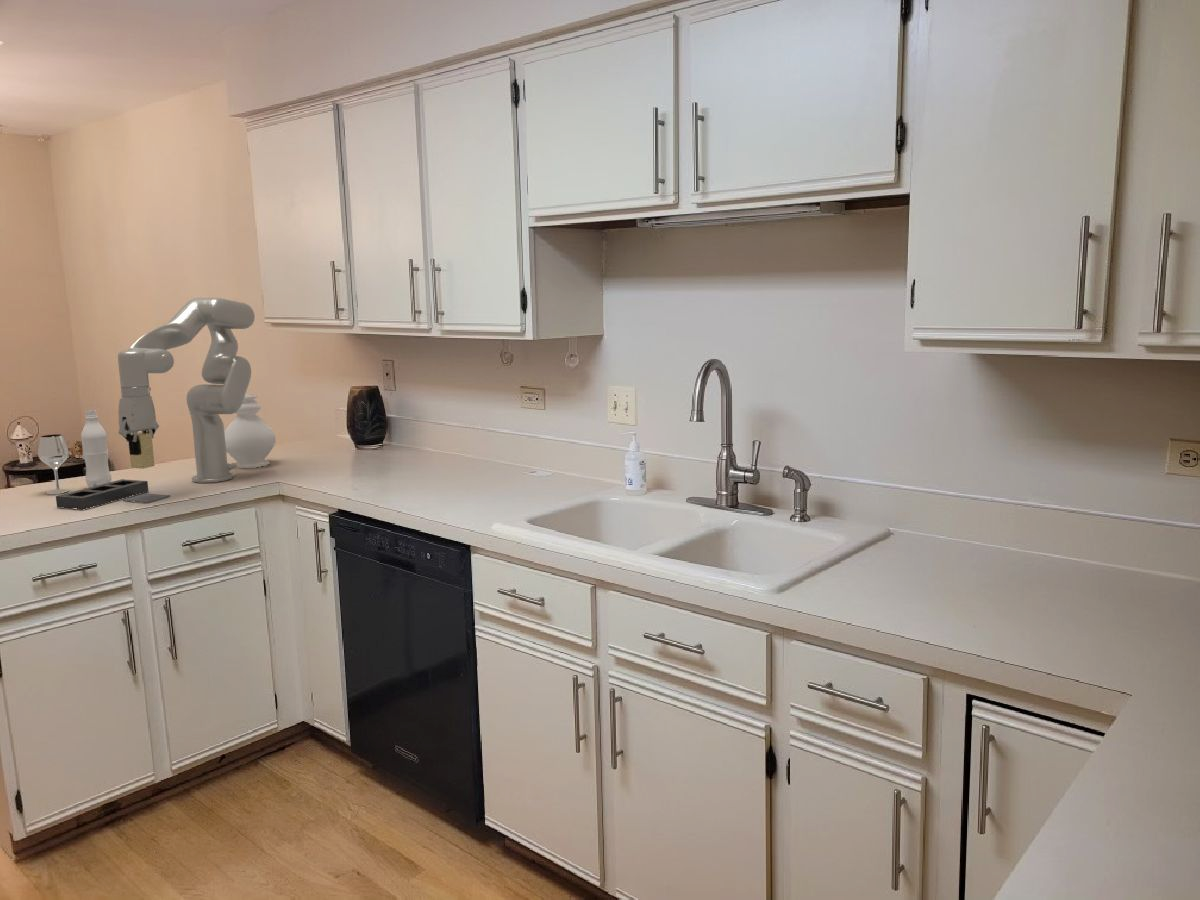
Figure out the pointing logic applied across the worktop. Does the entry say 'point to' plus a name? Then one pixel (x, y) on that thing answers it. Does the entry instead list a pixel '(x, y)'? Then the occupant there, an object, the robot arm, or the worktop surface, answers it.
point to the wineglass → (53, 455)
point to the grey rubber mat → (146, 497)
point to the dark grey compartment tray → (101, 494)
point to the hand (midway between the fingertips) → (141, 452)
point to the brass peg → (143, 452)
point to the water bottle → (95, 451)
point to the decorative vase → (249, 436)
